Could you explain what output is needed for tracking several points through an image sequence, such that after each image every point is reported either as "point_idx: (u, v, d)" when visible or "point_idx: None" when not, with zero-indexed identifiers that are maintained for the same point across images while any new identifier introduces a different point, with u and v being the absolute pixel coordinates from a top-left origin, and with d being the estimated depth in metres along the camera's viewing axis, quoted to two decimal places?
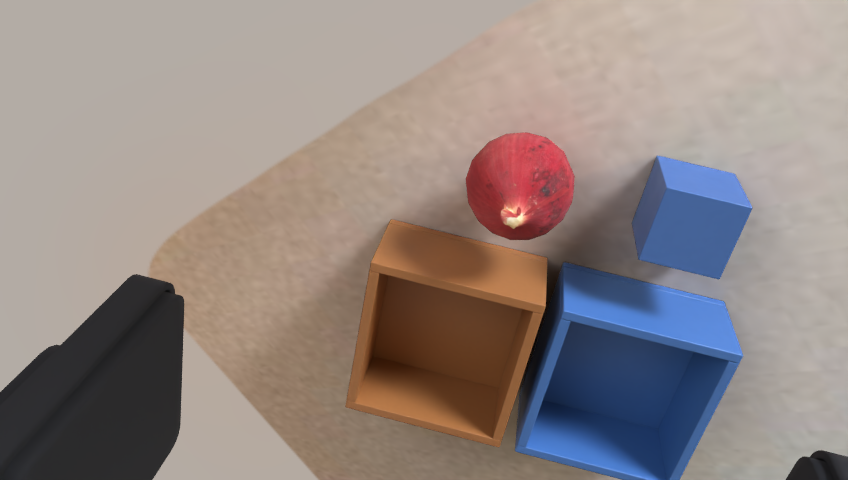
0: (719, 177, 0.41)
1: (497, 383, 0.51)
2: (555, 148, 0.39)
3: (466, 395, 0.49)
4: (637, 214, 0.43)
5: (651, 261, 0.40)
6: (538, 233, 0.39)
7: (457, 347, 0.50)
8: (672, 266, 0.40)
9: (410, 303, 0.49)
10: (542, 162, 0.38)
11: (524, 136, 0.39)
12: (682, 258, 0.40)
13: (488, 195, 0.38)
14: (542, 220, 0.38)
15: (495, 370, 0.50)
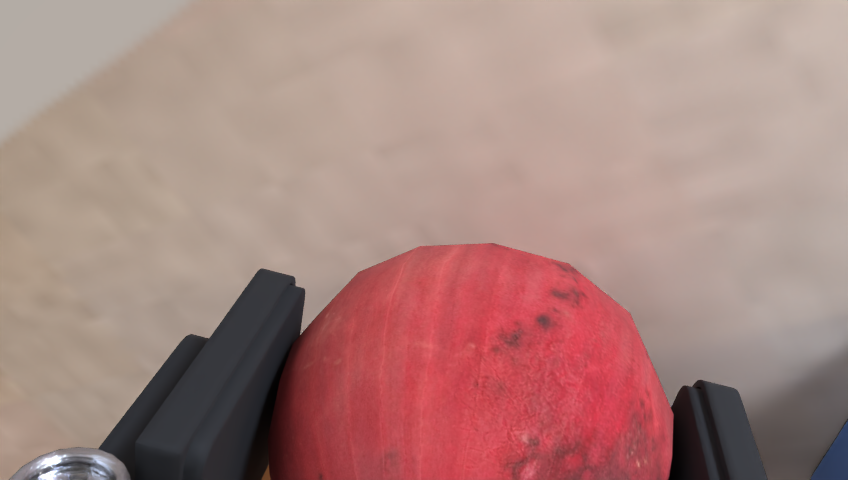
0: None
1: None
2: (603, 317, 0.10)
3: None
4: (840, 470, 0.14)
5: None
6: None
7: None
8: None
9: None
10: (555, 403, 0.09)
11: (481, 272, 0.10)
12: None
13: None
14: None
15: None
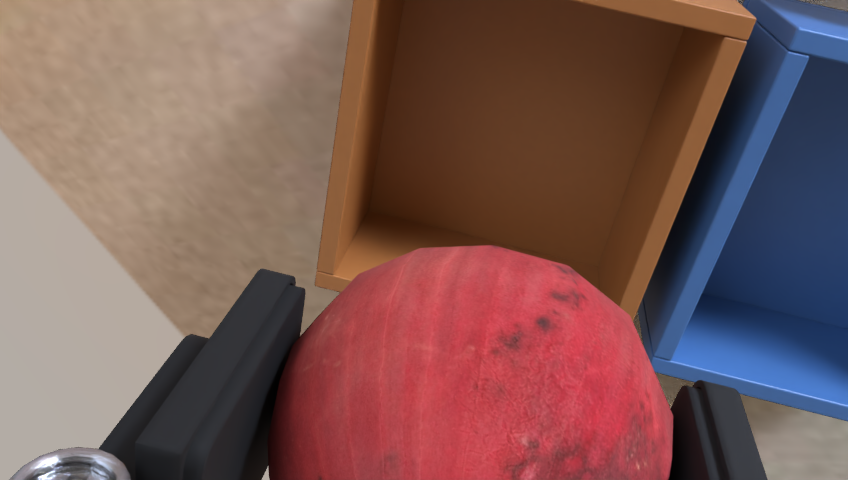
0: None
1: (597, 256, 0.28)
2: (603, 319, 0.10)
3: None
4: None
5: None
6: None
7: (525, 186, 0.27)
8: None
9: (439, 97, 0.26)
10: (554, 407, 0.08)
11: (481, 274, 0.10)
12: None
13: None
14: None
15: (594, 231, 0.27)
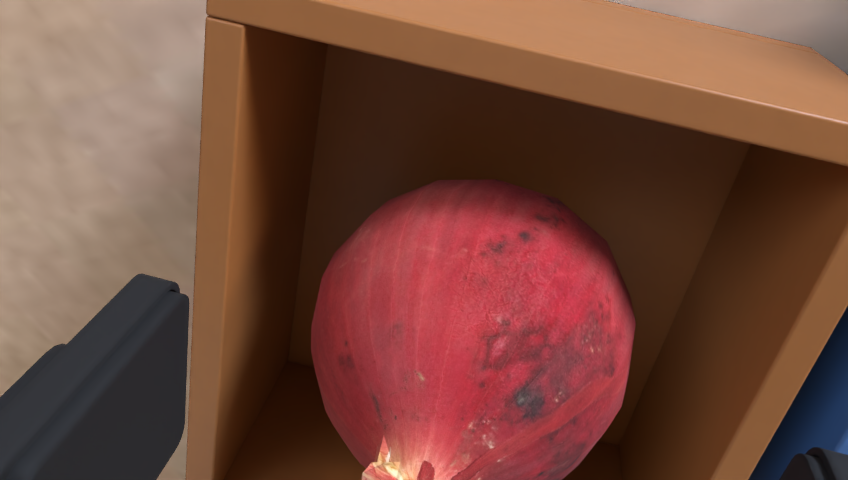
0: None
1: (617, 432, 0.19)
2: (578, 238, 0.12)
3: None
4: None
5: None
6: None
7: None
8: None
9: None
10: (526, 297, 0.11)
11: (480, 198, 0.12)
12: None
13: (342, 393, 0.11)
14: None
15: None
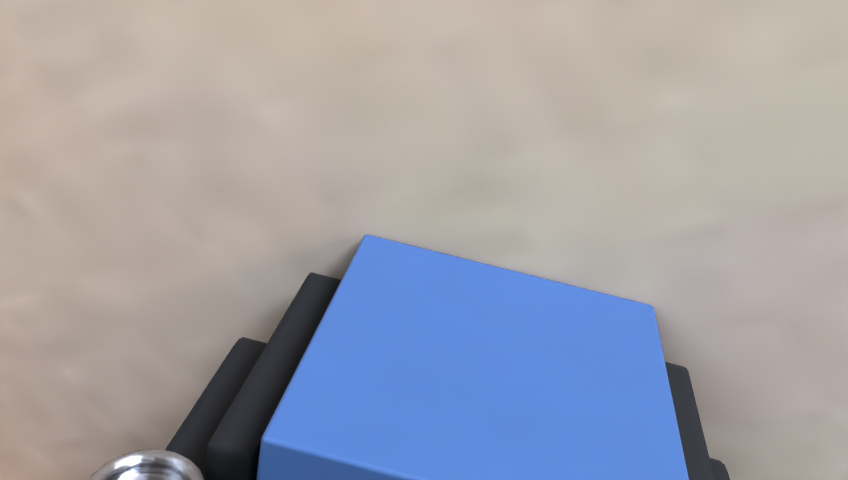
0: (584, 330, 0.10)
1: None
2: None
3: None
4: None
5: None
6: None
7: None
8: None
9: None
10: None
11: None
12: None
13: None
14: None
15: None
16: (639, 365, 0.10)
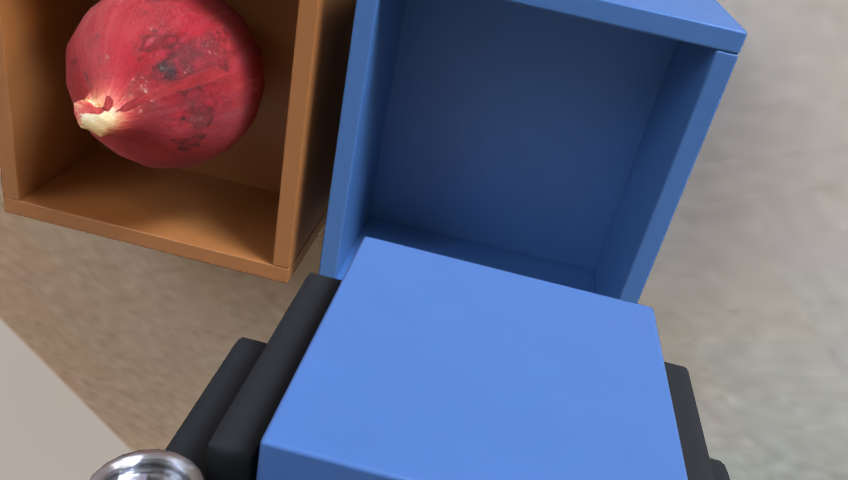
0: (583, 332, 0.10)
1: None
2: (212, 3, 0.22)
3: (249, 206, 0.28)
4: None
5: None
6: (180, 152, 0.22)
7: None
8: None
9: None
10: (168, 20, 0.21)
11: None
12: None
13: (72, 79, 0.21)
14: (170, 126, 0.21)
15: None
16: (639, 367, 0.10)
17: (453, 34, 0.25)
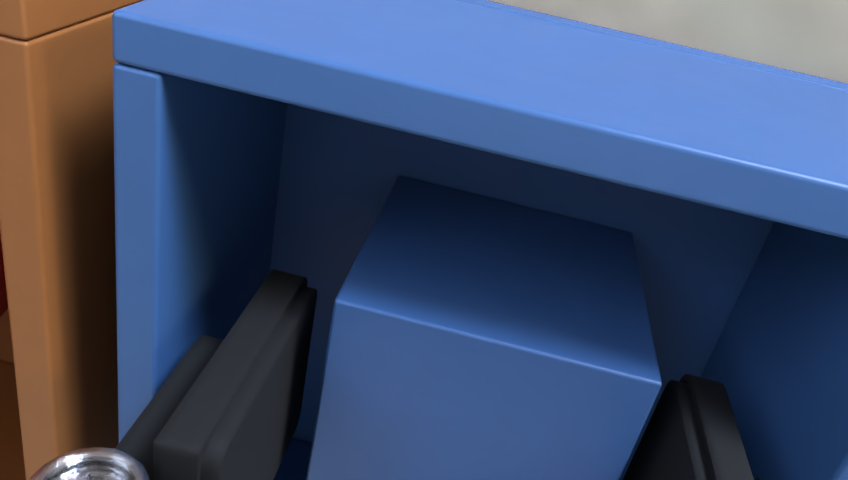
0: (575, 246, 0.13)
1: None
2: None
3: None
4: None
5: None
6: None
7: None
8: None
9: None
10: None
11: None
12: None
13: None
14: None
15: None
16: (619, 270, 0.12)
17: (378, 152, 0.14)
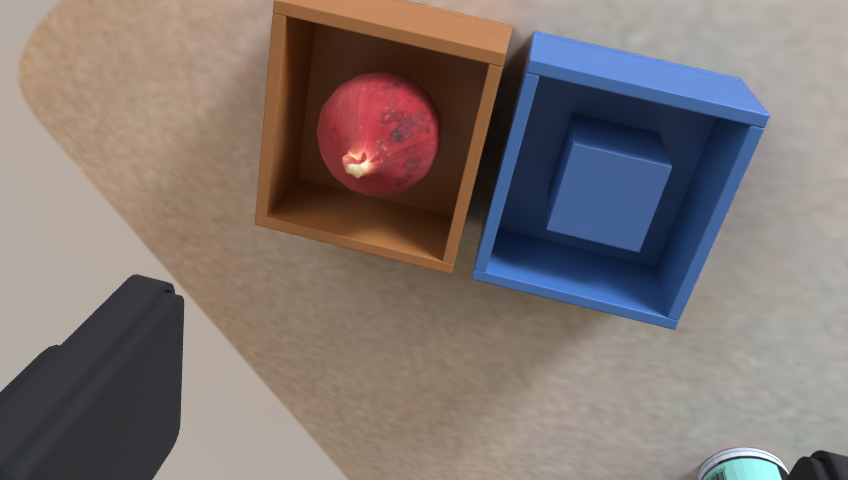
0: (640, 135, 0.35)
1: (454, 210, 0.40)
2: (416, 88, 0.34)
3: (413, 220, 0.39)
4: (552, 180, 0.38)
5: (561, 231, 0.35)
6: (395, 186, 0.33)
7: None
8: (585, 237, 0.35)
9: None
10: (396, 102, 0.32)
11: (380, 75, 0.33)
12: (595, 228, 0.34)
13: (333, 140, 0.32)
14: (395, 170, 0.32)
15: (450, 192, 0.40)
16: (656, 142, 0.35)
17: (564, 103, 0.36)
